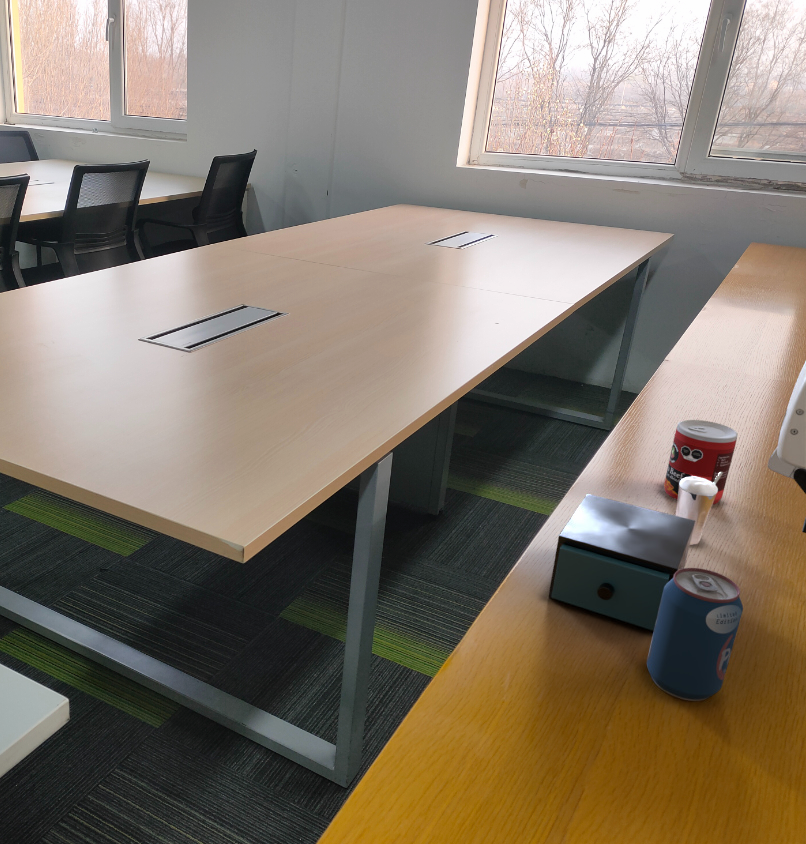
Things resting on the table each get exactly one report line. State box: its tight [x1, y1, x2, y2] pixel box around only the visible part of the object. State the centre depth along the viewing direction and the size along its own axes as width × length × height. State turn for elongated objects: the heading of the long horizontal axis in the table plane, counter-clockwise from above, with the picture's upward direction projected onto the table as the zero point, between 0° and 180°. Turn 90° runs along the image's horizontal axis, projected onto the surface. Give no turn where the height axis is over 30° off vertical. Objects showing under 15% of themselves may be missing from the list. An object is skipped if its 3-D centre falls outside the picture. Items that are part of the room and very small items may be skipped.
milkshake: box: [674, 472, 723, 546], centre depth 109 cm, size 4×5×10 cm
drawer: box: [552, 544, 670, 631], centre depth 95 cm, size 14×11×7 cm
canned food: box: [663, 419, 738, 506], centre depth 121 cm, size 8×8×11 cm
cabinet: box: [547, 493, 695, 632], centre depth 97 cm, size 14×13×9 cm
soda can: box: [646, 567, 744, 702], centre depth 81 cm, size 7×7×12 cm
